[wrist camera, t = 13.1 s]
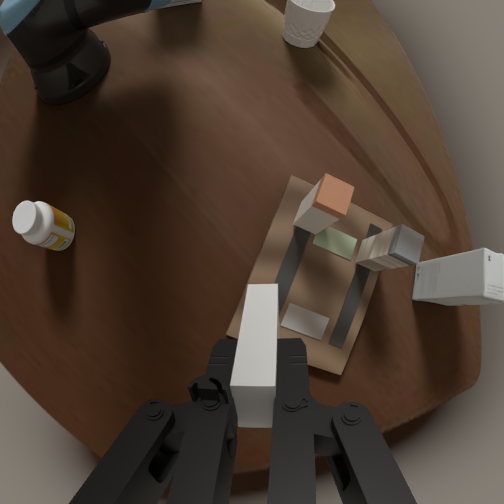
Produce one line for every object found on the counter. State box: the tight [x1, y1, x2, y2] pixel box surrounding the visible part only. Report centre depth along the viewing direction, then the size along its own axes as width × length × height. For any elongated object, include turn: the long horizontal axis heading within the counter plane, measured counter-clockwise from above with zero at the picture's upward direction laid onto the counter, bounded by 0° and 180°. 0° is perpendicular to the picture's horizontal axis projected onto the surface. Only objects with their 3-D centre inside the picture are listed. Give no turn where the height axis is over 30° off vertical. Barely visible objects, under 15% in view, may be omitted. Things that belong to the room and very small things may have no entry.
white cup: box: [282, 0, 335, 48], centre depth 40 cm, size 8×8×10 cm
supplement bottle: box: [12, 201, 75, 251], centre depth 32 cm, size 5×5×10 cm
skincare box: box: [412, 248, 504, 306], centre depth 34 cm, size 8×6×15 cm
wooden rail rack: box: [226, 175, 424, 375], centre depth 33 cm, size 22×16×12 cm
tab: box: [293, 174, 354, 234], centre depth 33 cm, size 3×3×10 cm
